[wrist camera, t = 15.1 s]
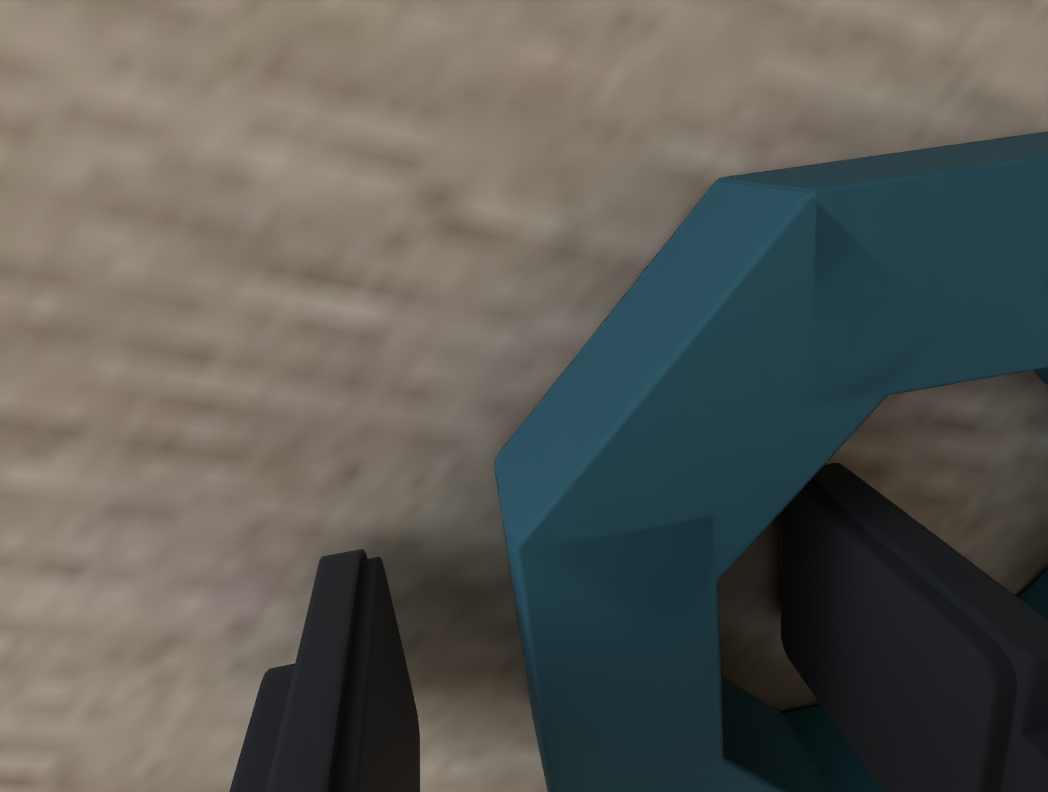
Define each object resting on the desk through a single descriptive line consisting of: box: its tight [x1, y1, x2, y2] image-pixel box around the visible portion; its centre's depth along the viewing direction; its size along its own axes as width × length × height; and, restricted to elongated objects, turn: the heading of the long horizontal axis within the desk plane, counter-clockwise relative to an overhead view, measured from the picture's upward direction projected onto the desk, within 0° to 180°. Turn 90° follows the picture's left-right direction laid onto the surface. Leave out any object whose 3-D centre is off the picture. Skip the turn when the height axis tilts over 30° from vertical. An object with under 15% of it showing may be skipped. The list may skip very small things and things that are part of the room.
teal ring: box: [494, 132, 1048, 792], centre depth 9 cm, size 11×11×2 cm
